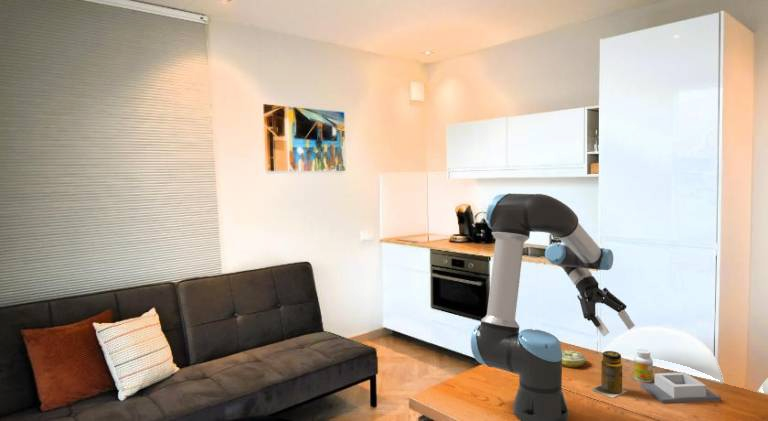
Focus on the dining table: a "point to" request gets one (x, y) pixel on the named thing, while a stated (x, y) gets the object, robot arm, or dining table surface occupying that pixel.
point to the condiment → (611, 375)
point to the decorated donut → (572, 359)
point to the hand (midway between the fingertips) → (619, 330)
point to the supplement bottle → (643, 366)
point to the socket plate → (679, 389)
